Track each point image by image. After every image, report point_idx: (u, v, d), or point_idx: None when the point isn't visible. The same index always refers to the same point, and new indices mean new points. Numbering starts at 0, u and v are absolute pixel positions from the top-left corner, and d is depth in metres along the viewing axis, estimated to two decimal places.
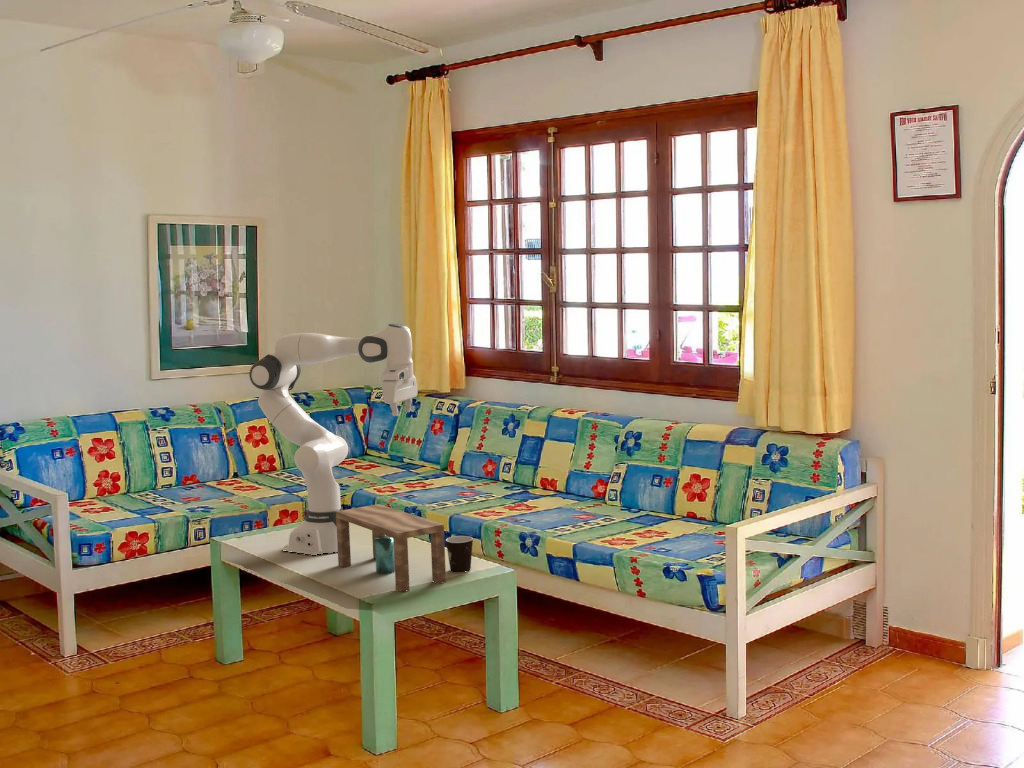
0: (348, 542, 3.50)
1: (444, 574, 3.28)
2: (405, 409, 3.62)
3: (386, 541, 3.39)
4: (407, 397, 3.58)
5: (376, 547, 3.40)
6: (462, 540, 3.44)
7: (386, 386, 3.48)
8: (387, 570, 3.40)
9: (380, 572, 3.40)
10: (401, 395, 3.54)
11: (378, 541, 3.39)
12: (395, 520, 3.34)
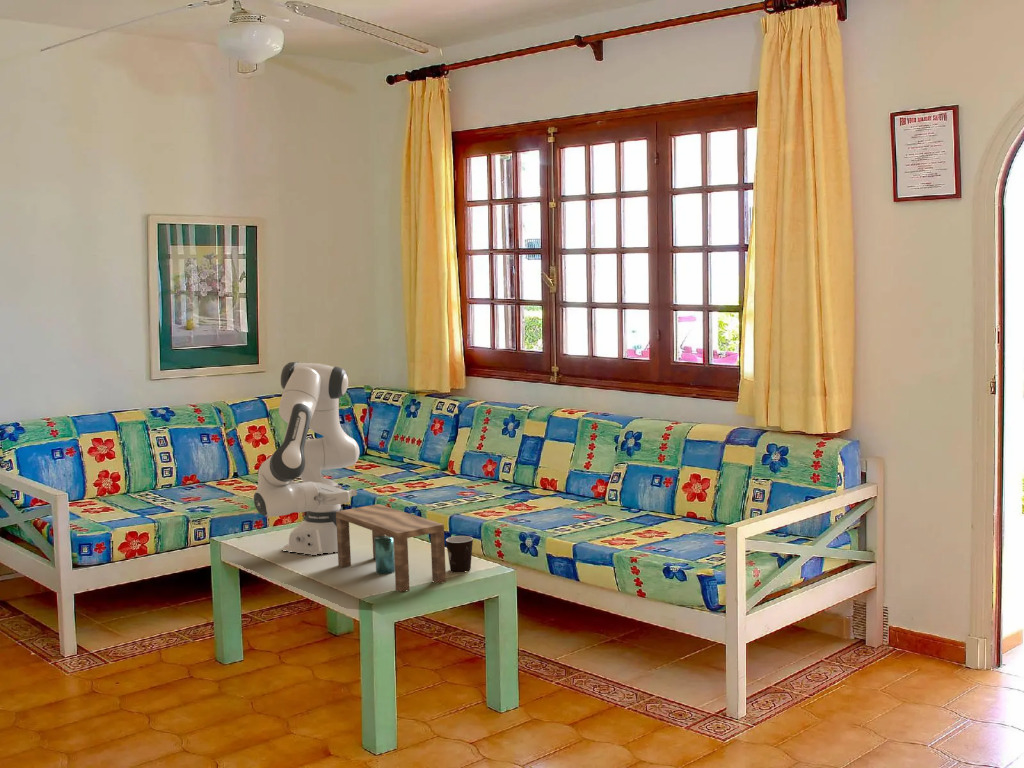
0: (348, 542, 3.50)
1: (444, 574, 3.28)
2: None
3: (386, 541, 3.39)
4: None
5: (376, 547, 3.40)
6: (462, 540, 3.44)
7: None
8: (387, 570, 3.40)
9: (380, 572, 3.40)
10: None
11: (378, 541, 3.39)
12: (395, 520, 3.34)
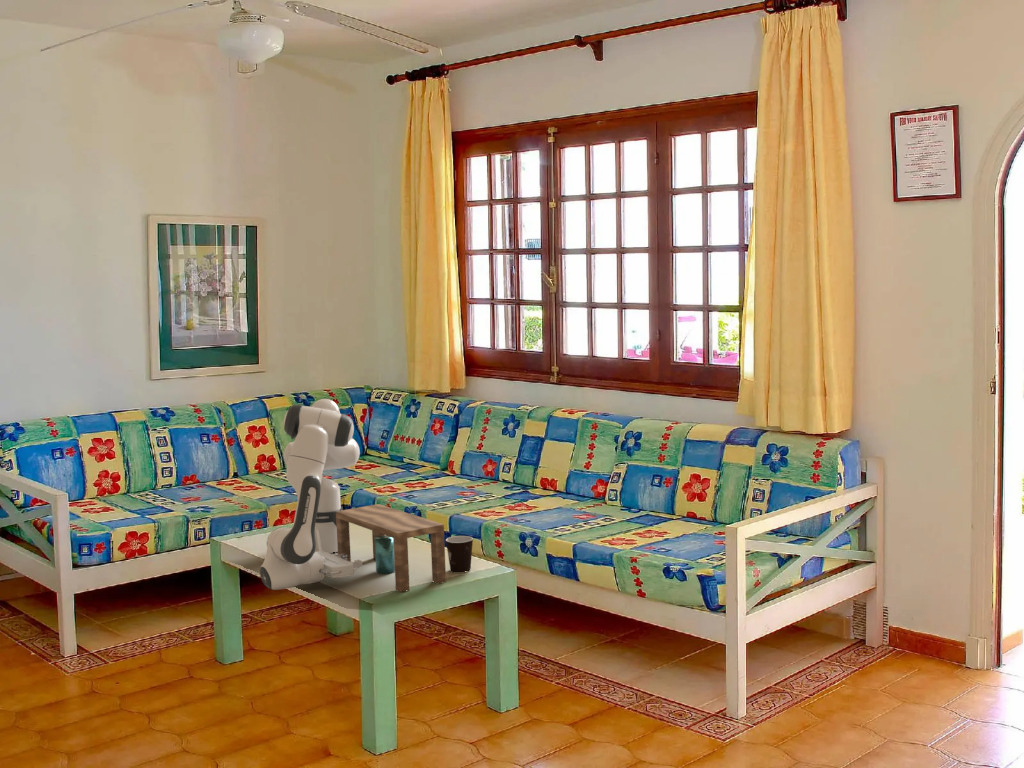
0: (348, 542, 3.50)
1: (444, 574, 3.28)
2: None
3: (386, 541, 3.39)
4: None
5: (376, 547, 3.40)
6: (462, 540, 3.44)
7: None
8: (387, 570, 3.40)
9: (380, 572, 3.40)
10: None
11: (378, 541, 3.39)
12: (395, 520, 3.34)
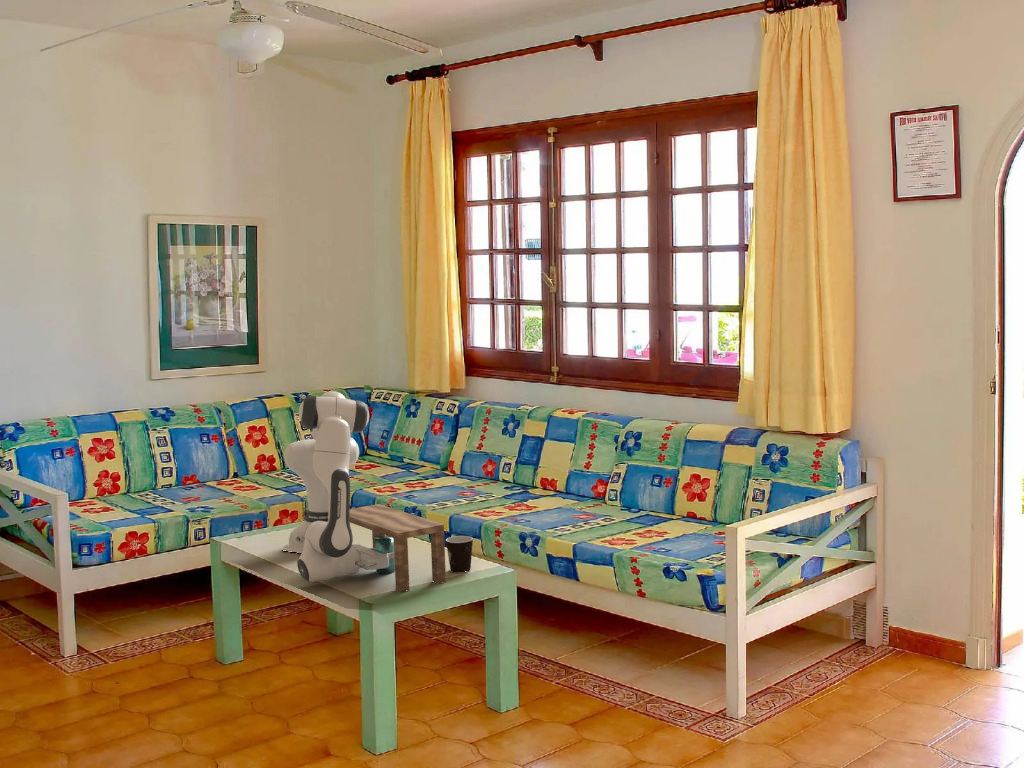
0: None
1: (444, 574, 3.28)
2: None
3: (386, 541, 3.39)
4: None
5: (376, 547, 3.40)
6: (462, 540, 3.44)
7: None
8: (387, 570, 3.40)
9: (380, 572, 3.40)
10: None
11: (378, 541, 3.39)
12: (395, 520, 3.34)
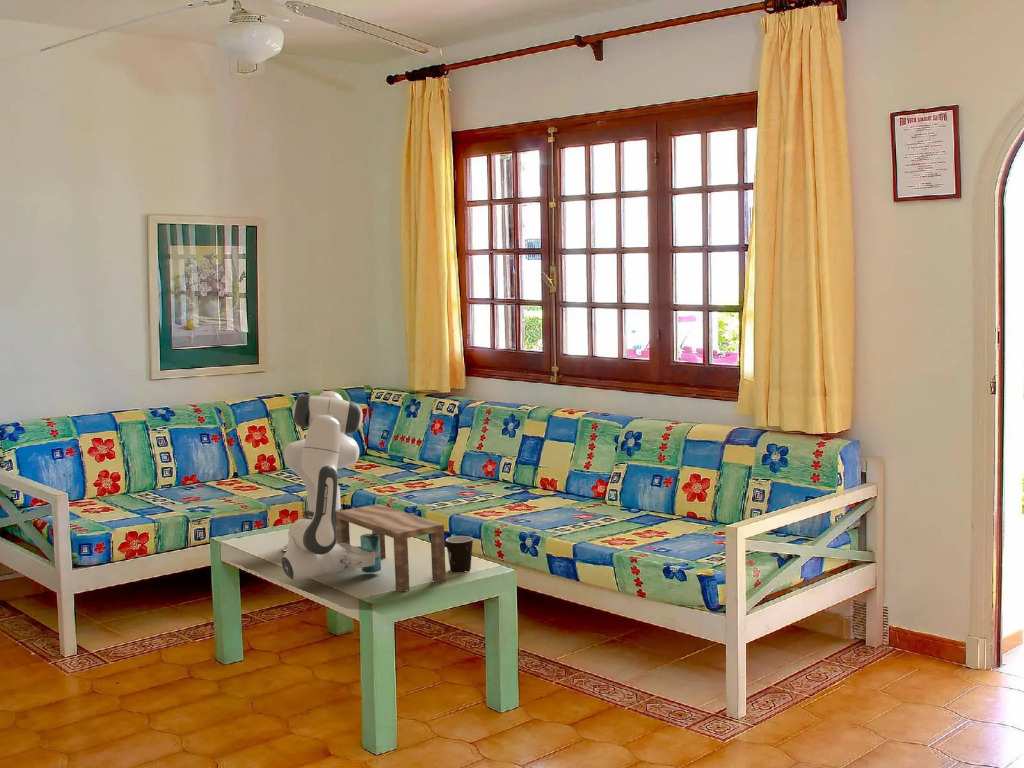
0: (348, 542, 3.50)
1: (444, 574, 3.28)
2: None
3: (372, 539, 3.35)
4: None
5: (362, 545, 3.36)
6: (462, 540, 3.44)
7: None
8: (373, 568, 3.36)
9: (366, 570, 3.36)
10: None
11: (364, 539, 3.36)
12: (395, 520, 3.34)
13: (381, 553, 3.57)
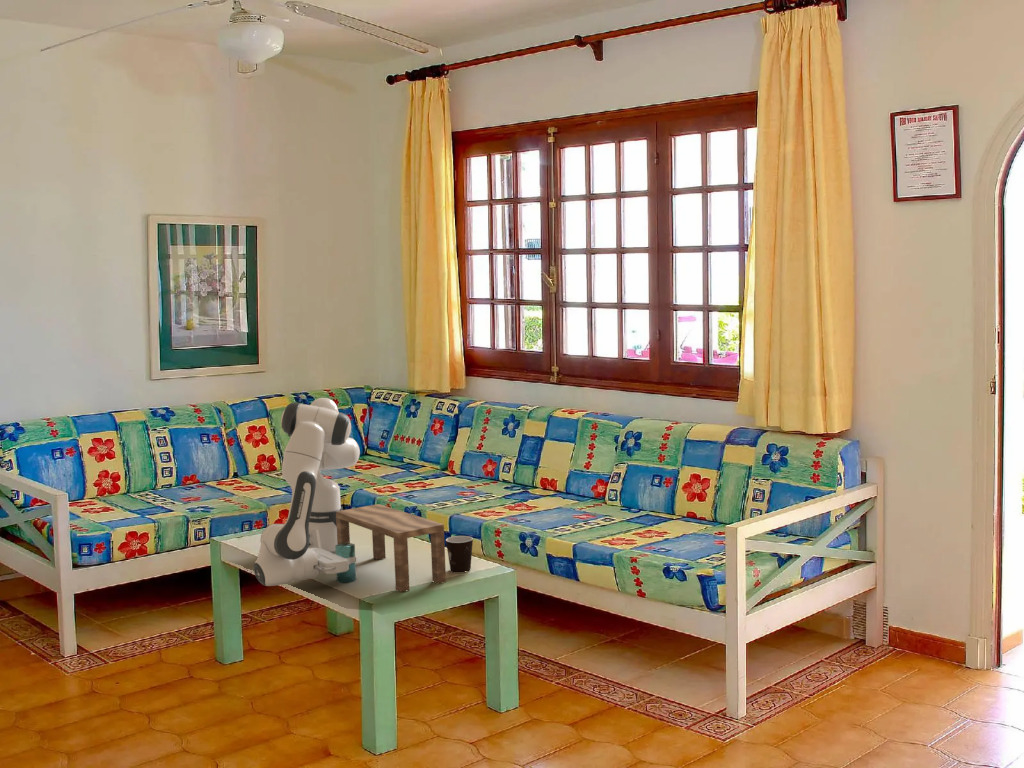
0: (348, 542, 3.50)
1: (444, 574, 3.28)
2: None
3: (347, 549, 3.30)
4: None
5: None
6: (462, 540, 3.44)
7: None
8: (347, 578, 3.31)
9: (341, 581, 3.31)
10: None
11: (339, 549, 3.31)
12: (395, 520, 3.34)
13: (381, 553, 3.57)
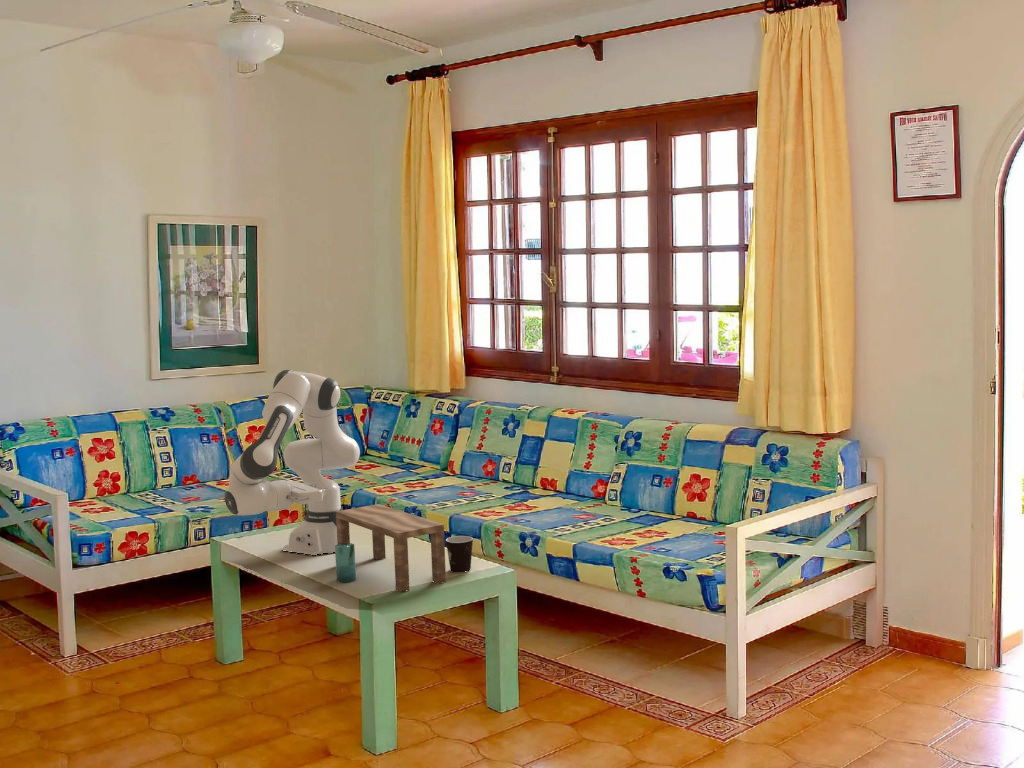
0: (348, 542, 3.50)
1: (444, 574, 3.28)
2: None
3: (347, 549, 3.30)
4: None
5: (336, 555, 3.31)
6: (462, 540, 3.44)
7: None
8: (347, 578, 3.31)
9: (341, 581, 3.31)
10: None
11: (338, 549, 3.31)
12: (395, 520, 3.34)
13: (381, 553, 3.57)
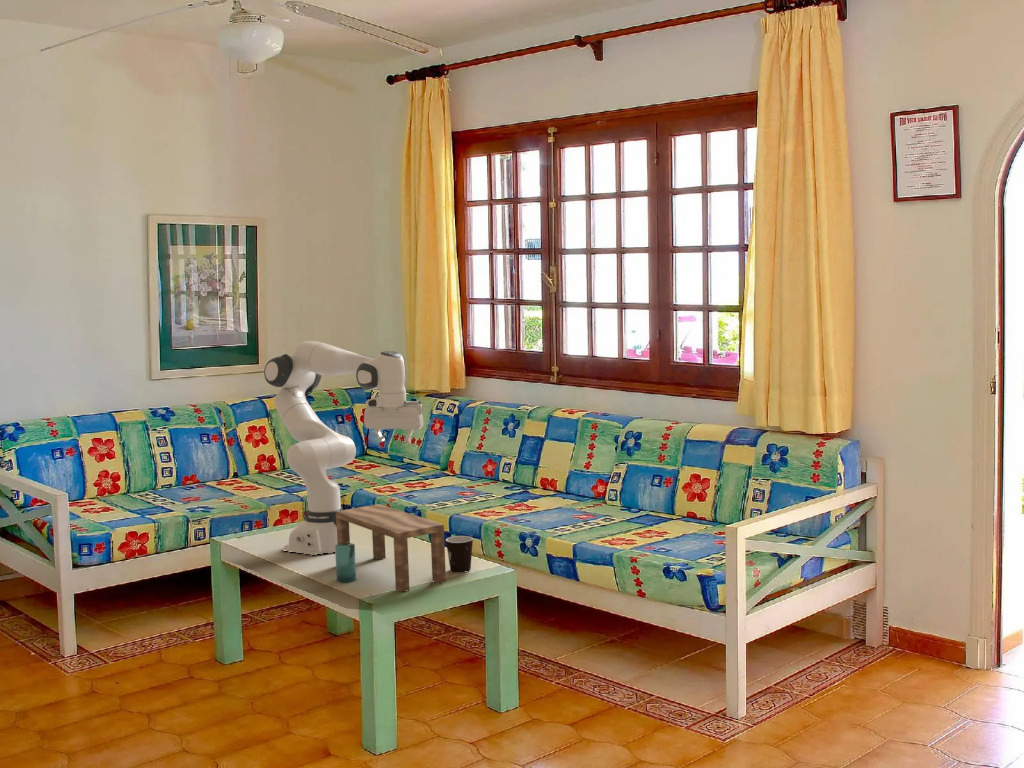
0: (348, 542, 3.50)
1: (444, 574, 3.28)
2: None
3: (347, 549, 3.30)
4: (395, 427, 3.52)
5: (337, 555, 3.31)
6: (462, 540, 3.44)
7: None
8: (348, 578, 3.31)
9: (341, 581, 3.31)
10: (381, 423, 3.53)
11: (339, 549, 3.30)
12: (395, 520, 3.34)
13: (381, 553, 3.57)
